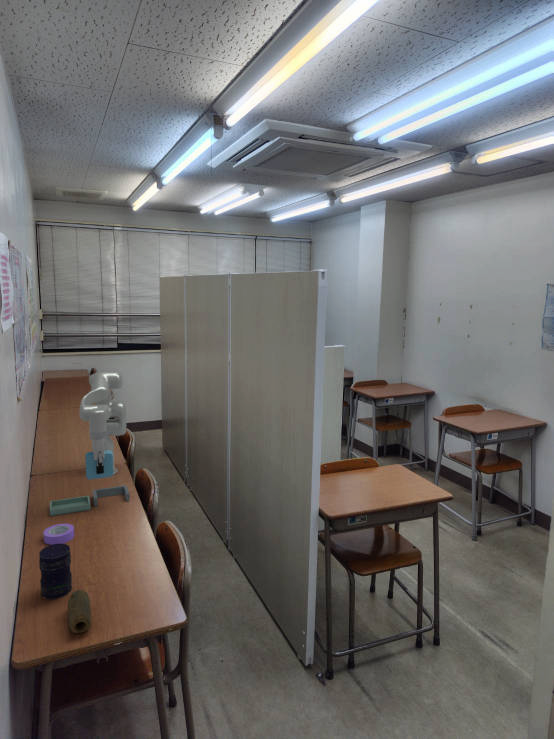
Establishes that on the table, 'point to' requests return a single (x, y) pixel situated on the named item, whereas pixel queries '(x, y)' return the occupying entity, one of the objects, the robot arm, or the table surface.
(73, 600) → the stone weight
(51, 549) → the storage jar
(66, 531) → the masking tape
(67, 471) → the table surface
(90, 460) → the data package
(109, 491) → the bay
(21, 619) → the table surface
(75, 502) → the tray
